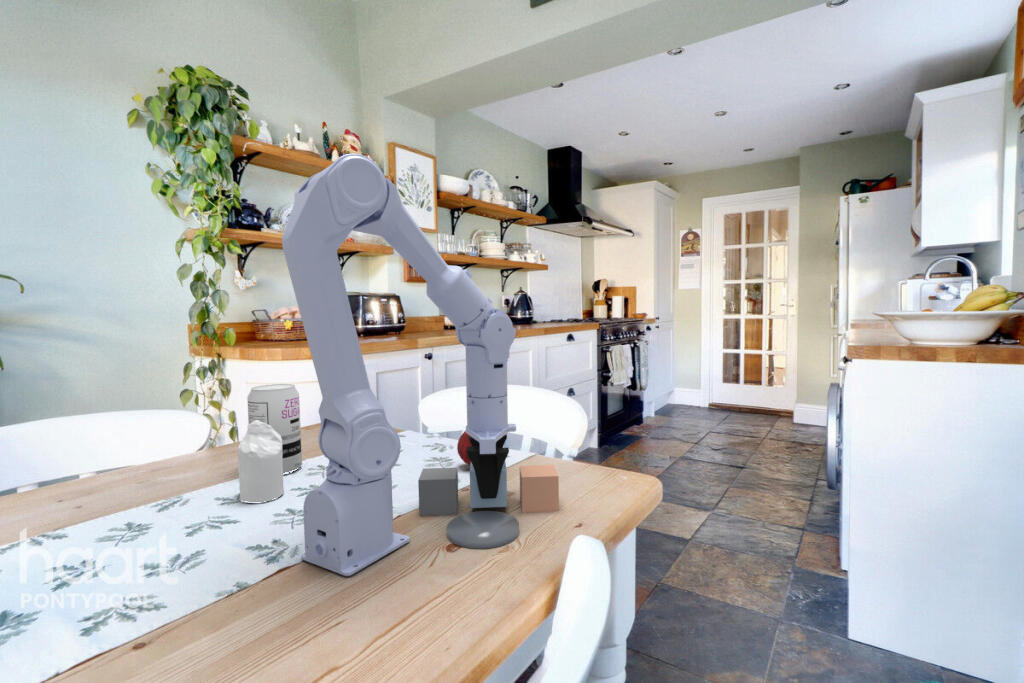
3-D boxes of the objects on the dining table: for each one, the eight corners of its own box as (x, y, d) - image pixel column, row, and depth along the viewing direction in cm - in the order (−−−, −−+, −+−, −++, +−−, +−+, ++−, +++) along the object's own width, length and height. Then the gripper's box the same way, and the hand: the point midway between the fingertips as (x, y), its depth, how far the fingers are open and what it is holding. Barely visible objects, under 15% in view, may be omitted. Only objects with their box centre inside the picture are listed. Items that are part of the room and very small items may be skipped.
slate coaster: (493, 555, 56) (493, 548, 56) (431, 538, 60) (431, 531, 60) (532, 525, 63) (532, 519, 63) (474, 511, 68) (474, 506, 68)
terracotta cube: (558, 511, 68) (558, 476, 68) (522, 513, 68) (521, 477, 67) (553, 498, 73) (553, 464, 73) (520, 499, 73) (519, 465, 72)
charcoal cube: (456, 514, 67) (455, 478, 67) (419, 516, 67) (418, 480, 67) (458, 500, 72) (457, 467, 72) (424, 502, 72) (423, 468, 72)
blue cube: (507, 506, 68) (506, 470, 67) (470, 507, 67) (469, 471, 67) (505, 493, 72) (505, 459, 72) (471, 494, 72) (470, 460, 72)
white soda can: (255, 466, 90) (251, 385, 89) (304, 461, 93) (301, 382, 92) (246, 480, 83) (241, 391, 82) (299, 475, 85) (296, 388, 84)
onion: (489, 472, 85) (488, 426, 84) (455, 473, 85) (454, 426, 84) (491, 462, 90) (490, 419, 90) (460, 462, 91) (459, 419, 90)
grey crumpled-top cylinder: (279, 413, 78) (282, 420, 73) (283, 488, 79) (285, 499, 74) (236, 418, 75) (235, 425, 70) (240, 495, 76) (239, 507, 71)
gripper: (518, 403, 62) (520, 509, 63) (512, 386, 76) (514, 472, 77) (462, 404, 62) (464, 511, 62) (467, 387, 76) (468, 474, 77)
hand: (488, 490), depth 70 cm, fingers closed on blue cube, 5 cm apart
